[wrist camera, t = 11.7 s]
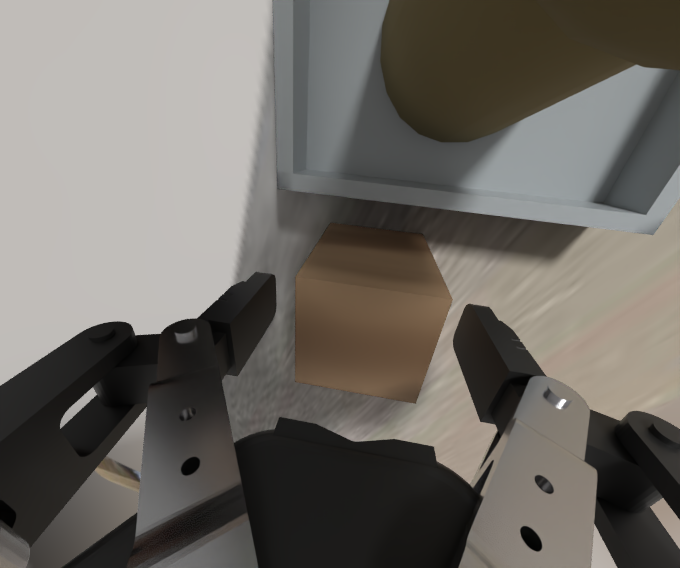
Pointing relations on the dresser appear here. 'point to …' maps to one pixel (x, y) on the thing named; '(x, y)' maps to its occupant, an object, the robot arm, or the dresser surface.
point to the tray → (475, 156)
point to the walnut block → (368, 312)
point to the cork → (513, 56)
